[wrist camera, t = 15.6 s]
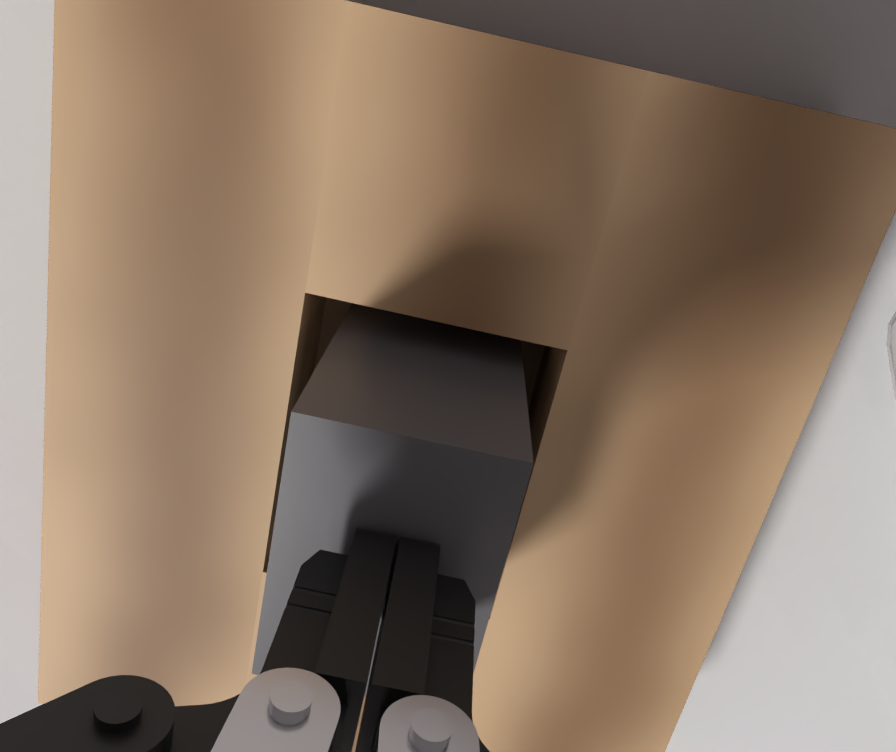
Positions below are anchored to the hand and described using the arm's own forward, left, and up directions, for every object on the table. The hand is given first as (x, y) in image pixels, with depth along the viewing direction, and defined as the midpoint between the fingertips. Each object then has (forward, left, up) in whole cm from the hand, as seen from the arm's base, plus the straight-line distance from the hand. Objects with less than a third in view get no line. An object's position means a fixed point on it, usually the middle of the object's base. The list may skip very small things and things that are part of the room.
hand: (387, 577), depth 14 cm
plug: (0, 0, -7) cm, 7 cm away
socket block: (0, 0, -8) cm, 8 cm away
